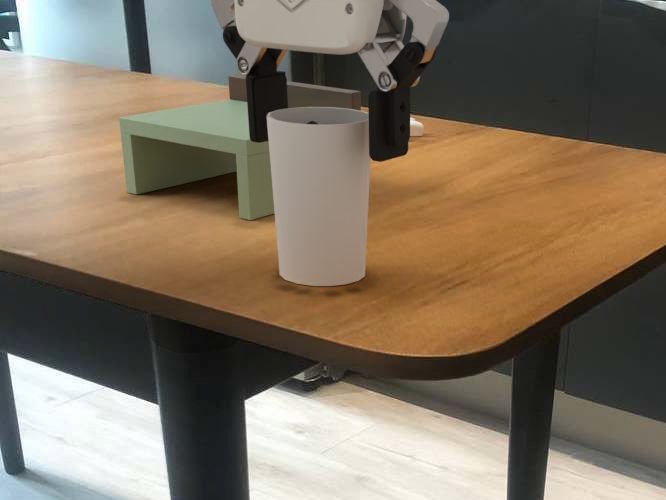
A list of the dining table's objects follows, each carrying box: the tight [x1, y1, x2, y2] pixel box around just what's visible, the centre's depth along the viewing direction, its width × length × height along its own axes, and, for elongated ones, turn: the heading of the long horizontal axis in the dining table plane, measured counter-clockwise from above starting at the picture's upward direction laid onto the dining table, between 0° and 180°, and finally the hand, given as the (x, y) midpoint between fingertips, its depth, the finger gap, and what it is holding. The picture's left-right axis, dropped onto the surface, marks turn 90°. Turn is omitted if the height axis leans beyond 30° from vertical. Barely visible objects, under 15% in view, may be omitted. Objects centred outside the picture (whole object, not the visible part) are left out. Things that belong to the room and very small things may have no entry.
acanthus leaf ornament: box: [410, 117, 425, 137], centre depth 117 cm, size 8×7×2 cm
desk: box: [118, 73, 362, 221], centre depth 90 cm, size 14×14×8 cm
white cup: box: [267, 107, 372, 287], centre depth 70 cm, size 7×7×10 cm
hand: (327, 148), depth 69 cm, fingers open, 9 cm apart
